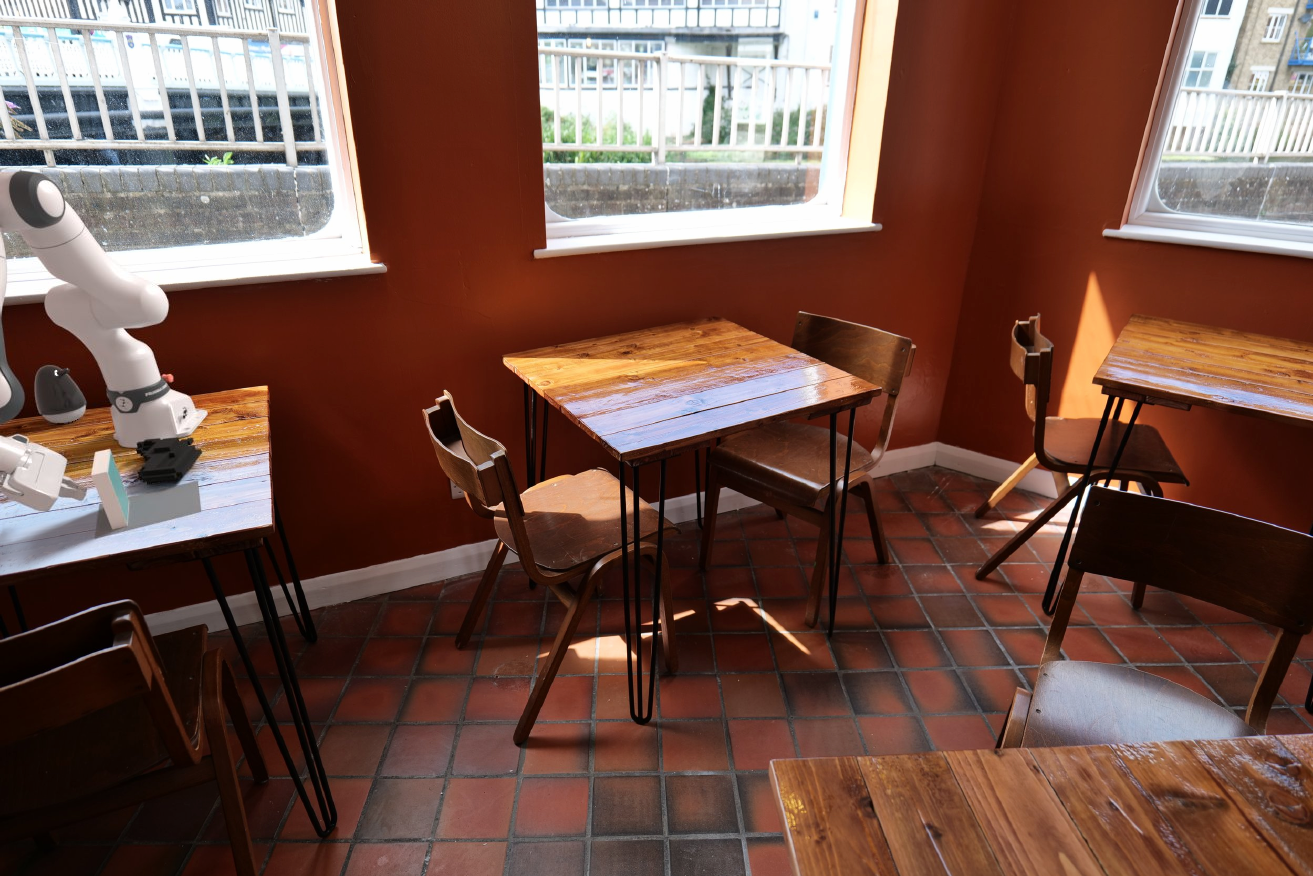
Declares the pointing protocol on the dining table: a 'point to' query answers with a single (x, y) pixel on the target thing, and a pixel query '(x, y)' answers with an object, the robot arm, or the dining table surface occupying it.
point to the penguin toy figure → (58, 395)
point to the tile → (110, 489)
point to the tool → (166, 459)
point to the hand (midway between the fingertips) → (85, 494)
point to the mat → (154, 508)
